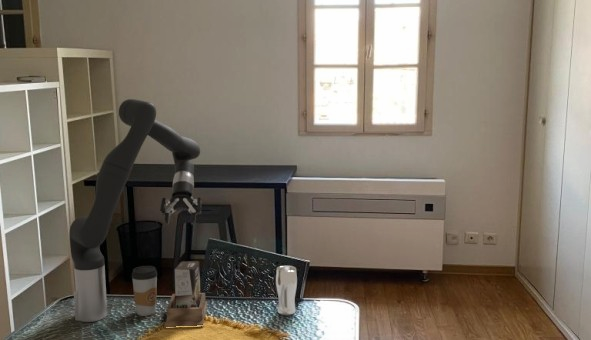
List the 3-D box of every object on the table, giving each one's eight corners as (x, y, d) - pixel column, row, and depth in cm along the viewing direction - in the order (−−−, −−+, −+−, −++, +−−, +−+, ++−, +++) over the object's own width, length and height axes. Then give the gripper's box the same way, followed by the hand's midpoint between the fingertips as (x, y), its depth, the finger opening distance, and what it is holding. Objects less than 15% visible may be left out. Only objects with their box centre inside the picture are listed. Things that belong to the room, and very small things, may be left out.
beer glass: (297, 307, 188) (297, 265, 186) (295, 316, 181) (295, 272, 179) (277, 307, 189) (277, 264, 187) (275, 315, 182) (274, 271, 180)
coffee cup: (143, 319, 179) (141, 274, 177) (128, 313, 184) (125, 270, 182) (164, 311, 185) (162, 268, 183) (148, 305, 190) (146, 263, 188)
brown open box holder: (164, 328, 172) (163, 313, 171) (172, 304, 191) (172, 290, 191) (203, 327, 173) (202, 312, 172) (207, 303, 192) (207, 289, 192)
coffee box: (195, 317, 178) (193, 269, 175) (175, 317, 178) (173, 269, 176) (201, 306, 187) (200, 260, 184) (182, 306, 187) (181, 260, 185)
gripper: (162, 180, 199) (157, 218, 189) (201, 180, 200) (199, 217, 190) (164, 192, 205) (160, 229, 195) (203, 192, 206) (201, 229, 196)
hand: (179, 223), depth 193 cm, fingers open, 8 cm apart
